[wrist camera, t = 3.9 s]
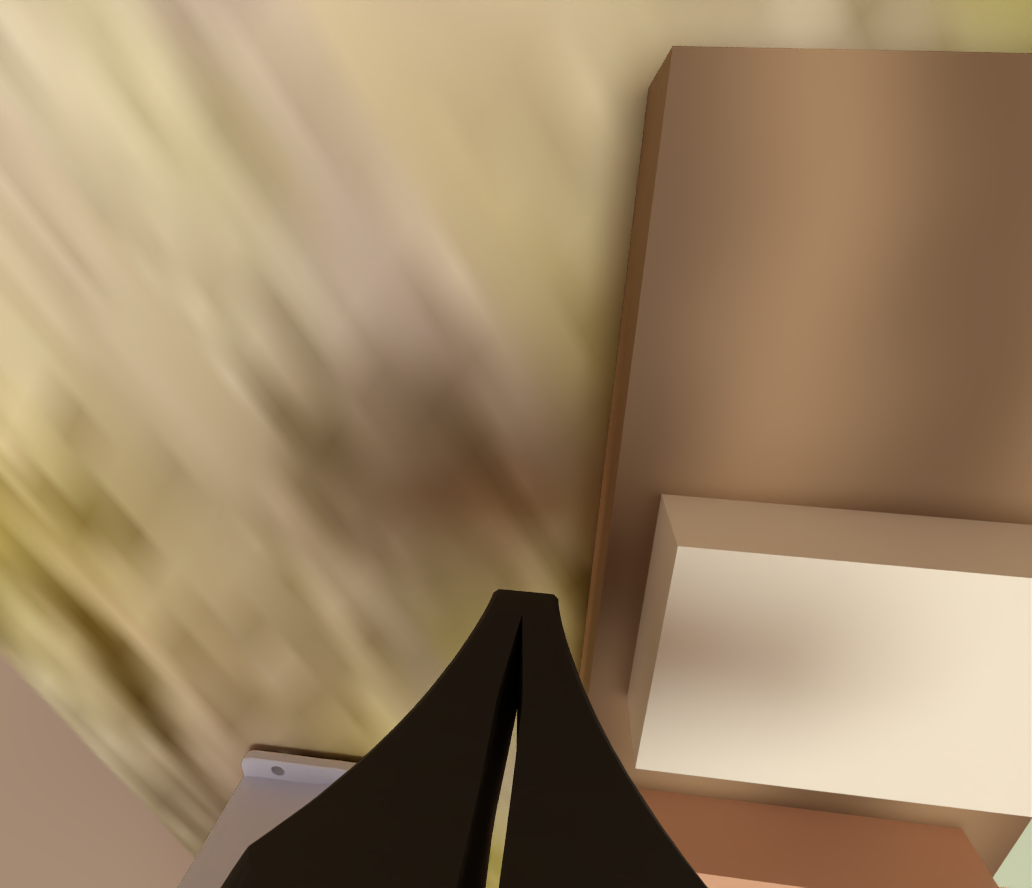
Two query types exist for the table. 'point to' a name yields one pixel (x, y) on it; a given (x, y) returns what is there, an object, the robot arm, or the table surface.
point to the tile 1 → (838, 652)
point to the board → (819, 327)
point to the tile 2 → (812, 847)
